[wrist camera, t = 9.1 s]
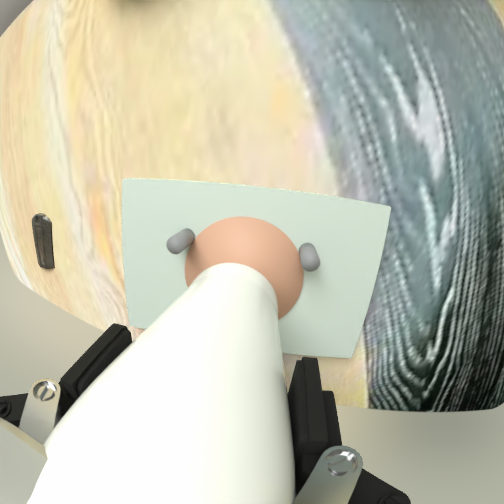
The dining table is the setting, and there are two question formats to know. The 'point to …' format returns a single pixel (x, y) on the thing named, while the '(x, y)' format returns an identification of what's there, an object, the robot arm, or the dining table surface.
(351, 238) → the pin nest plate
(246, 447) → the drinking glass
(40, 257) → the block
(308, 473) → the robot arm
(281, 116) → the dining table surface
